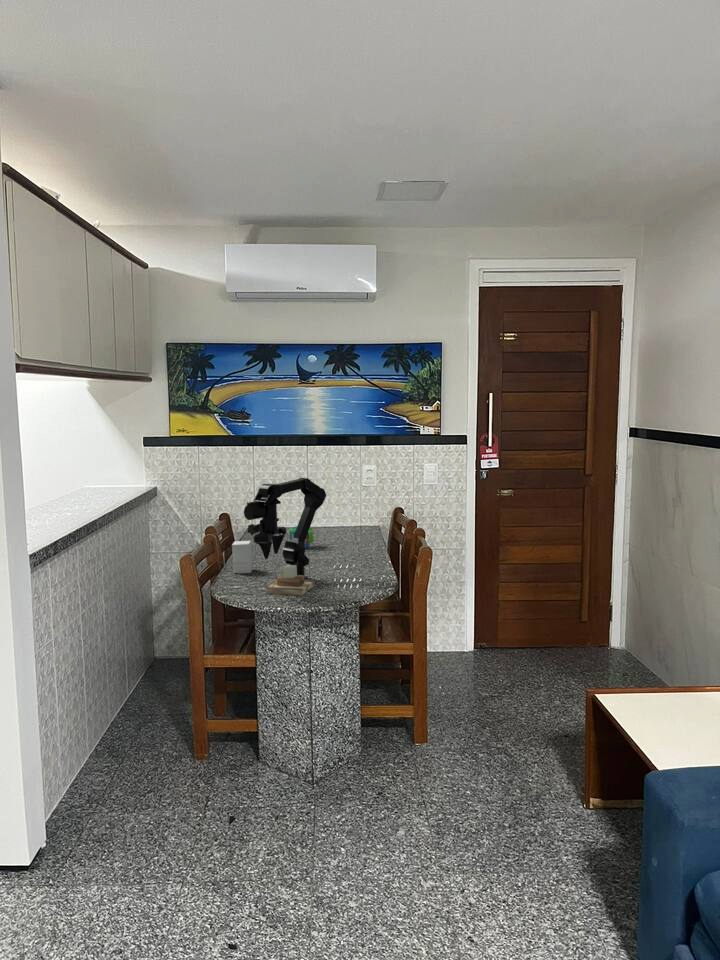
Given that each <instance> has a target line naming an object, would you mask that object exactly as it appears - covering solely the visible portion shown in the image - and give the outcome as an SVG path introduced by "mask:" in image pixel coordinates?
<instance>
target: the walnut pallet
mask: <svg viewBox="0 0 720 960" xmlns="http://www.w3.org/2000/svg"><path fill="white" fill-rule="evenodd" d="M276 581H277V586H293V587H300V585H302V584H304V575H297V576H296V577H295V578H284V573H283V574H281V575H279V576H277V577H276Z"/></svg>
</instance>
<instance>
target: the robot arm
mask: <svg viewBox="0 0 720 960" xmlns="http://www.w3.org/2000/svg"><path fill="white" fill-rule="evenodd" d="M299 490H300V492H301V493H302V495H304V498H303V502H304V506H303V510H302V513H301V515H300V518H299V521H298V523H297V528H296V531H295V534H294V536H293V539H292V540H285V543H284V546H283V548H282V556H283V559H284V561H285V564H286V565H297V575H304V580H307V579H308V577H309V576H307V575H305V571H306V570H305V567H307V566H308V565H309V564H310V559H309V557H308V556H306V555H305V552H306V549H305V544H304V542H305V539H306V536H307V534H308V531H309V528H310V527H312V523H313V520H314V517H315V514H316V512H317V510H318V509H320V508H321V506H322V505H323V504H324V502H325V500H326V498H327V493H326V491H325V489H324V488H322V487H321V486H319V485H318V484H316V483H315V482H313V481H312V480H311V479H310V478H307V477H299V478H296V479H293V480H289V481H284V482H280V483H262V484H261V485H260V486H259V488H258V490H257V493H256V494H255V497H254V499H253V500H252V501H247V502H246V505H245V507H244V509H243V515H244V517H245V519H246V520H248V521H252V520H257V519H260V520H259V523H257V524H254V523H251V524H248V525H247V533H249V534H250V536H253V535H254V536H253V542H254V543H255V544H256V545H258V546H259V547H260V549H261V552H262V555H263V557H264V559H265V560H268V559H269V557H270V552H271V549H272V548H273V553H274V554H278V552H279V550H280V548H281V545H282V542H283V540H284V538H285V536H286V535H287V527H285V526H278V522H279V521H280V517H278V509H277V505H281V503H282V501H280V500H279V498H280V497H282V495H284V494H287V493H291V492H295V491H299Z"/></svg>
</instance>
